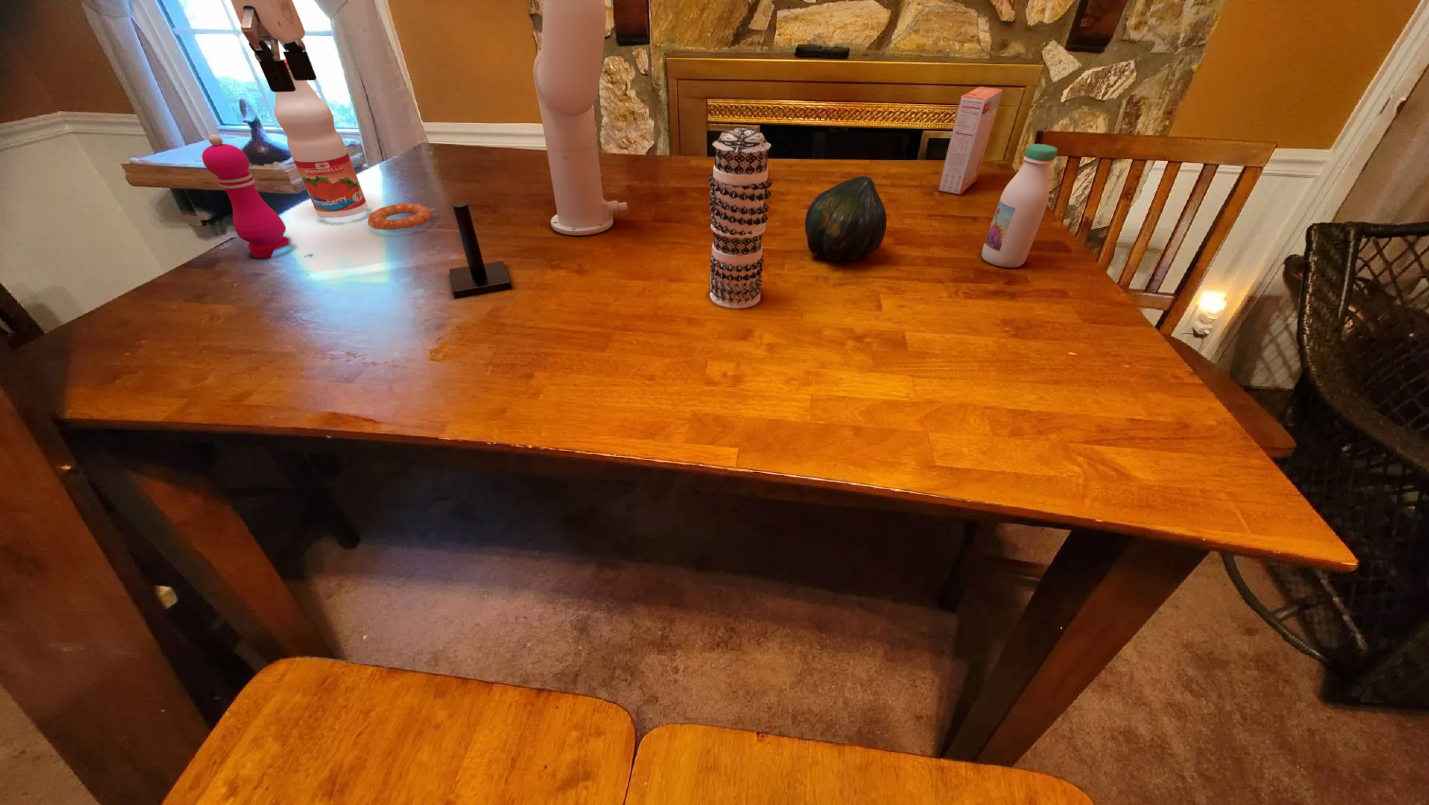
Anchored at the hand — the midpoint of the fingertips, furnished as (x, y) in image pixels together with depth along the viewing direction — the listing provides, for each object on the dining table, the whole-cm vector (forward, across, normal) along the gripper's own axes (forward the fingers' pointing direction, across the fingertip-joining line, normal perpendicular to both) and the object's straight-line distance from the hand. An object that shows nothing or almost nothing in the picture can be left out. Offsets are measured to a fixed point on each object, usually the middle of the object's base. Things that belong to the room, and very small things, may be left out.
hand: (295, 85), depth 87 cm
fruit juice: (+27, +18, +7) cm, 34 cm away
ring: (+26, +11, -5) cm, 28 cm away
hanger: (+27, -18, -23) cm, 40 cm away
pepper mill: (+27, +2, +15) cm, 31 cm away
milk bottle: (+27, -28, -117) cm, 124 cm away
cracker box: (+27, +13, -133) cm, 136 cm away
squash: (+27, -19, -88) cm, 94 cm away
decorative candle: (+27, -32, -64) cm, 77 cm away
